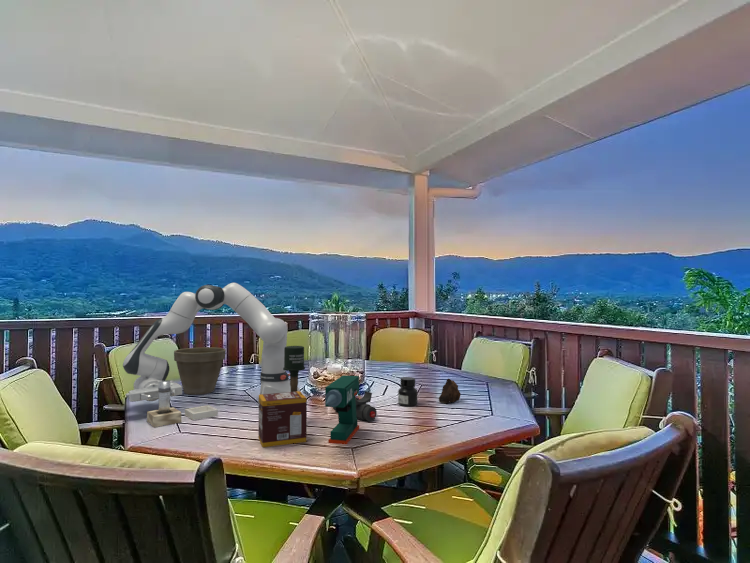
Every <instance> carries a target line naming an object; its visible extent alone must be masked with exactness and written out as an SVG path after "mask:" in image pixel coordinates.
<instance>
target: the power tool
mask: <svg viewBox="0 0 750 563" xmlns="http://www.w3.org/2000/svg"><path fill="white" fill-rule="evenodd" d="M324 388H325V389H324V390H325V391H324V392H325V396H324V402H325V404H324V406H325V407H326V408H327V407H328V408H333V407H336V411H335V412H337V415H338V416H337V417H338V422H337V424H336V426H334V427H333V428H332V430H331V431H330V438H329V439H328V441H327V443H328V444H333V445H334V444H335V445H346V444H347V445H348V444H349V442H350V441H351V440H352V438H353V437H354V435H356V433H357V432H358V431H359V429H360V425H359V424H358V421H359V419H358V418H357V417H356V400H355V398H356V397H357V396H358V395H359V394H360V375H348V374H347V375H345V374H343V375H341V376H340V377H337V379H336V380H334V381H333V382H331V383H330V384H328V385H326V386H325V387H324Z"/></svg>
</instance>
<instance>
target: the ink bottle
mask: <svg viewBox="0 0 750 563" xmlns="http://www.w3.org/2000/svg"><path fill="white" fill-rule="evenodd" d="M397 396H398V397H397V399H398V400H397V401H398V403H397V404H398V406H400V407H401V406H402V407H414V406H415V407H416V406H418V390H417V388H416V378H415V377H410V376H403V377H400V388H398V391H397Z"/></svg>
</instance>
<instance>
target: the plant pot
mask: <svg viewBox="0 0 750 563" xmlns="http://www.w3.org/2000/svg"><path fill="white" fill-rule="evenodd" d="M226 351H227V350H226V348H223V347H210V346H209V347H207V346H206V347H204V346H203V347H189V348H180V349H176V350H174V351H173V358H174V361H175V363H176V367H177V370H178V375H179V379H180V383H181V386H182V392H184V394H186V395H207V394H211V393H213V392H214V391H215V389H216V386H217V384H218V379H219V377H220V373H221V369H222V366H223V362H224V360H225V359H226Z"/></svg>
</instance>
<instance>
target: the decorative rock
mask: <svg viewBox="0 0 750 563" xmlns="http://www.w3.org/2000/svg"><path fill="white" fill-rule="evenodd" d="M461 395H462V394H461V392H460V390H459V385H458V384H457V383H456V381H454V380H452V379H451V378H447V379H446V381H445V384H444V385H443V386H442V389H441V394H440V395H439V397H438V402H439V403H440V404H448V403H451V402H452V403H455V402H457V401H459V400H460V399H461Z"/></svg>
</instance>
